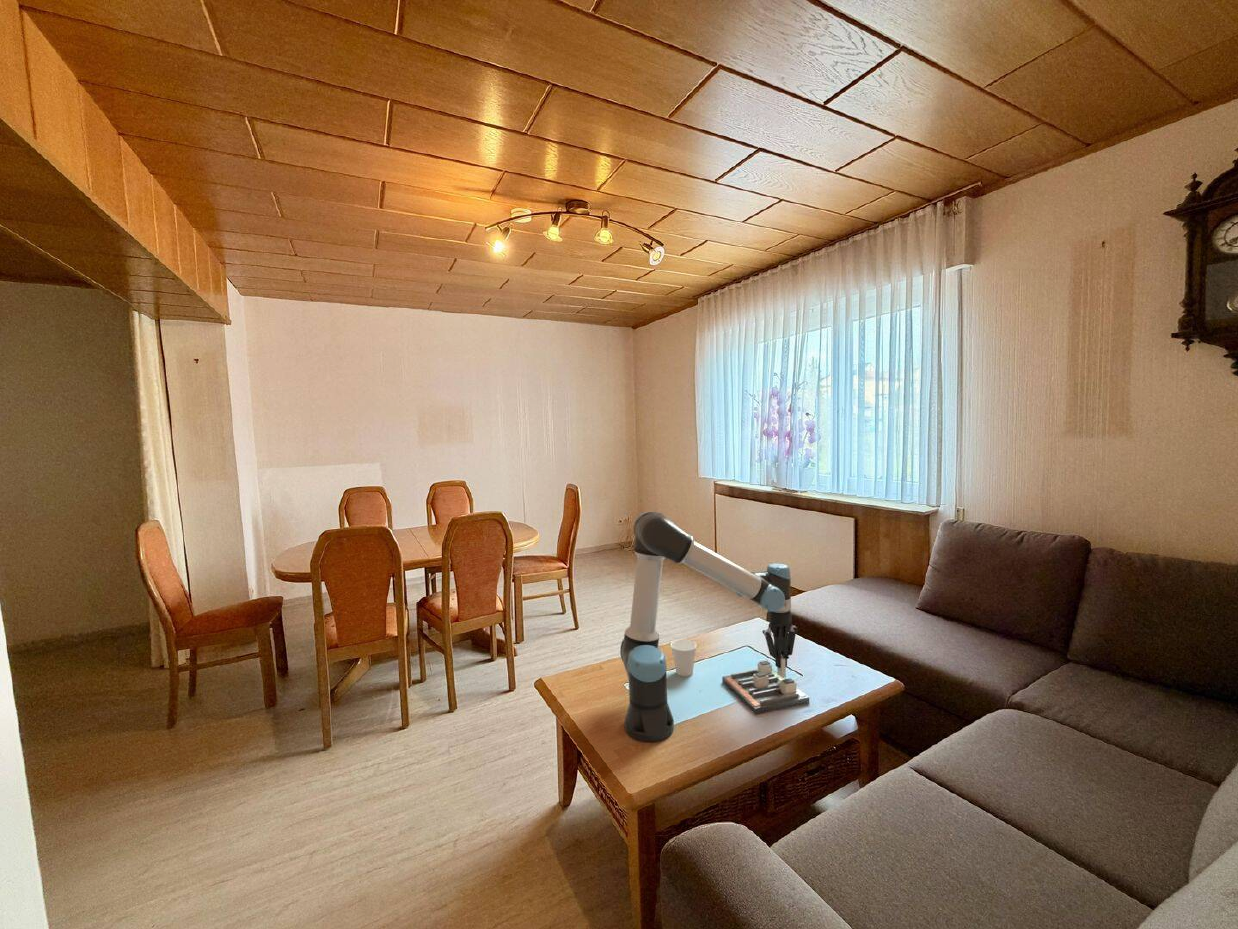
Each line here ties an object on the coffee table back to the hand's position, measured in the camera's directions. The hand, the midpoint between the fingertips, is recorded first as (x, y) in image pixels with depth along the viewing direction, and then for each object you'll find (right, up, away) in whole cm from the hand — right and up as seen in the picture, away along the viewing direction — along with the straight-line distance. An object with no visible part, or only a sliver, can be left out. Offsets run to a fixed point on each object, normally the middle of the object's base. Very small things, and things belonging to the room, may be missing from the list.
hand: (781, 675), depth 169 cm
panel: (-7, -5, -2) cm, 9 cm away
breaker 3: (0, -3, -7) cm, 8 cm away
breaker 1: (-4, -2, +6) cm, 8 cm away
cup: (-32, -5, +14) cm, 35 cm away
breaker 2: (-8, -3, -2) cm, 8 cm away
